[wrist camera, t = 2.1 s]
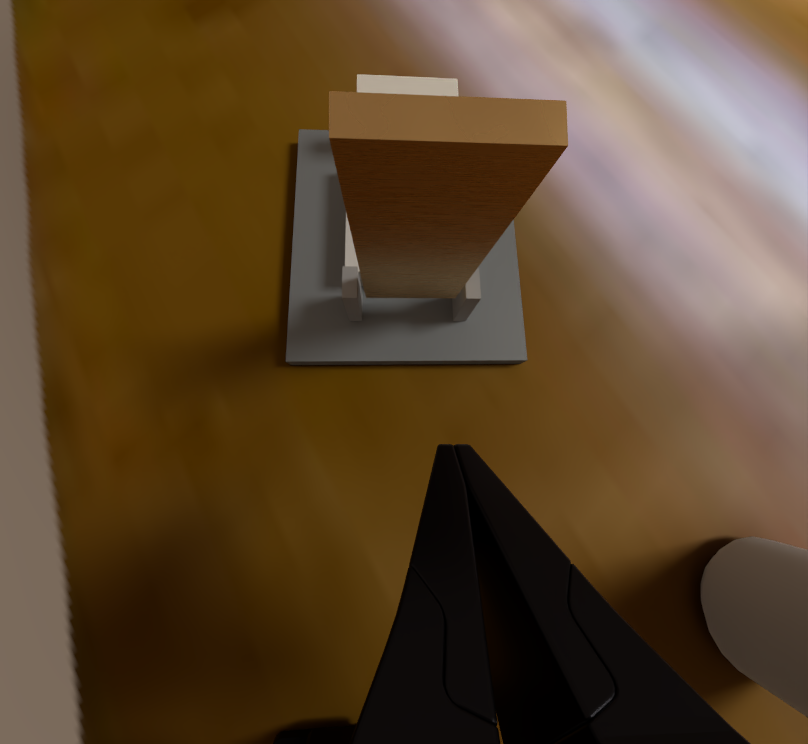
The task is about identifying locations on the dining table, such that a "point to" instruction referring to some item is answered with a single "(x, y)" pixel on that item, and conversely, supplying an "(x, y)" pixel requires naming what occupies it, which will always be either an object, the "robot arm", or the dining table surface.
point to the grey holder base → (388, 317)
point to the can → (761, 613)
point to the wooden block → (436, 181)
